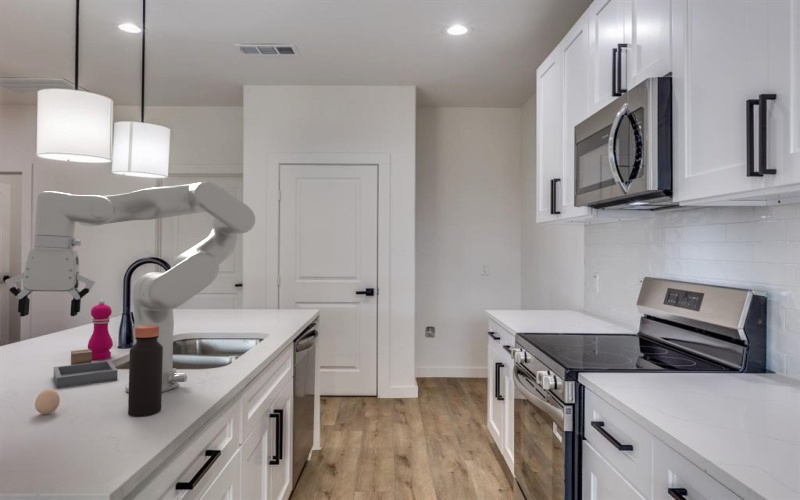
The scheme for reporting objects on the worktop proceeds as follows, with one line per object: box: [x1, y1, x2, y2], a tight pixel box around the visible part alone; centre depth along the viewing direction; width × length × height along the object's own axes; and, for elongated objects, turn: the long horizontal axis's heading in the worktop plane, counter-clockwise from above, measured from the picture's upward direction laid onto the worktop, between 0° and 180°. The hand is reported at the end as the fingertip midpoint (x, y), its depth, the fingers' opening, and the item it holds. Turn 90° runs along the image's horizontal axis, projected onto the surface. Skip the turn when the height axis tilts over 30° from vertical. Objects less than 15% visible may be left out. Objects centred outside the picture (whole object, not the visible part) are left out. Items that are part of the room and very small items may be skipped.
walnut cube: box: [70, 348, 93, 365], centre depth 143 cm, size 5×5×5 cm
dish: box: [53, 360, 119, 389], centre depth 131 cm, size 14×14×3 cm
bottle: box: [127, 325, 163, 418], centre depth 105 cm, size 7×7×20 cm
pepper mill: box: [87, 299, 114, 361], centre depth 155 cm, size 7×7×20 cm
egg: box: [34, 388, 61, 416], centre depth 103 cm, size 4×4×6 cm
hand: (49, 315), depth 107 cm, fingers open, 9 cm apart
